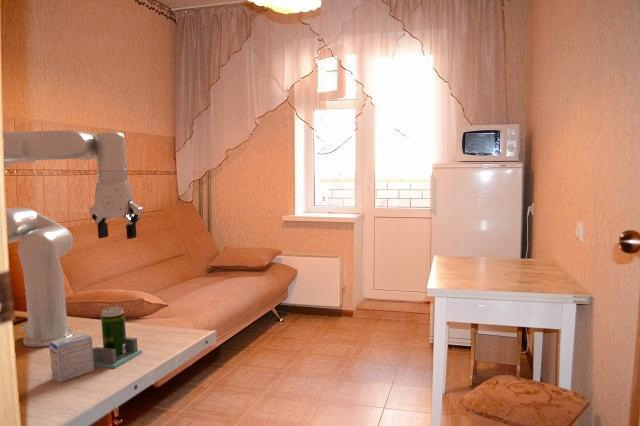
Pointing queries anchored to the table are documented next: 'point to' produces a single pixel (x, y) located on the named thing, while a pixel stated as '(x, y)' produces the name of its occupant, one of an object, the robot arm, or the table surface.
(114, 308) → the beer can
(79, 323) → the table surface
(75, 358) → the medicine box
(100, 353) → the end holder
